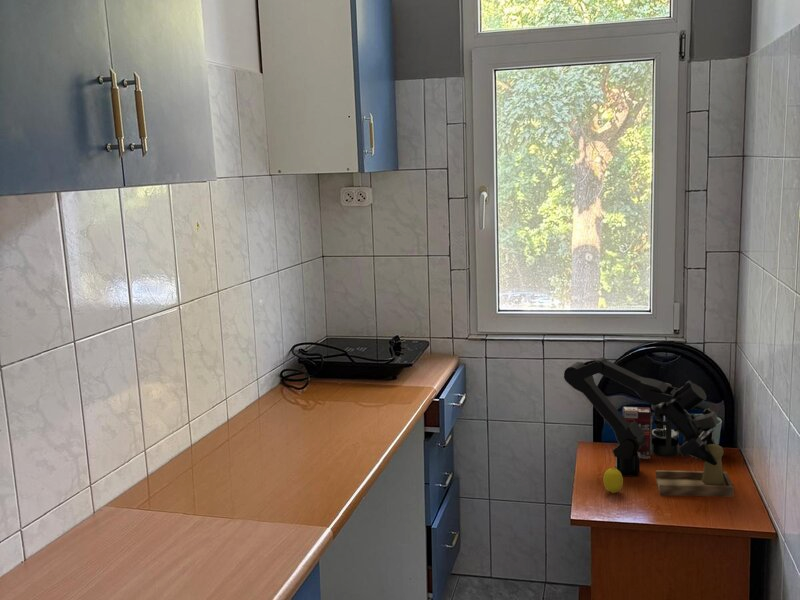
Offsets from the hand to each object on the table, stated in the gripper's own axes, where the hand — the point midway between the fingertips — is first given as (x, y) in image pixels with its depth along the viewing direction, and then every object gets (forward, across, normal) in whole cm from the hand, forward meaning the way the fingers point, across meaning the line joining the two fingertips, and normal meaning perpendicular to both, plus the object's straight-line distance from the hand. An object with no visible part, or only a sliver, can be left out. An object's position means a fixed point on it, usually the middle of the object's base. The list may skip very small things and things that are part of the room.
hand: (718, 461), depth 228 cm
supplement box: (-13, +14, +26) cm, 33 cm away
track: (+2, -2, +11) cm, 11 cm away
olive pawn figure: (+4, 0, +6) cm, 7 cm away
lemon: (-11, -16, +24) cm, 31 cm away
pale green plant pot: (0, +24, +13) cm, 27 cm away
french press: (-9, +21, +22) cm, 32 cm away
